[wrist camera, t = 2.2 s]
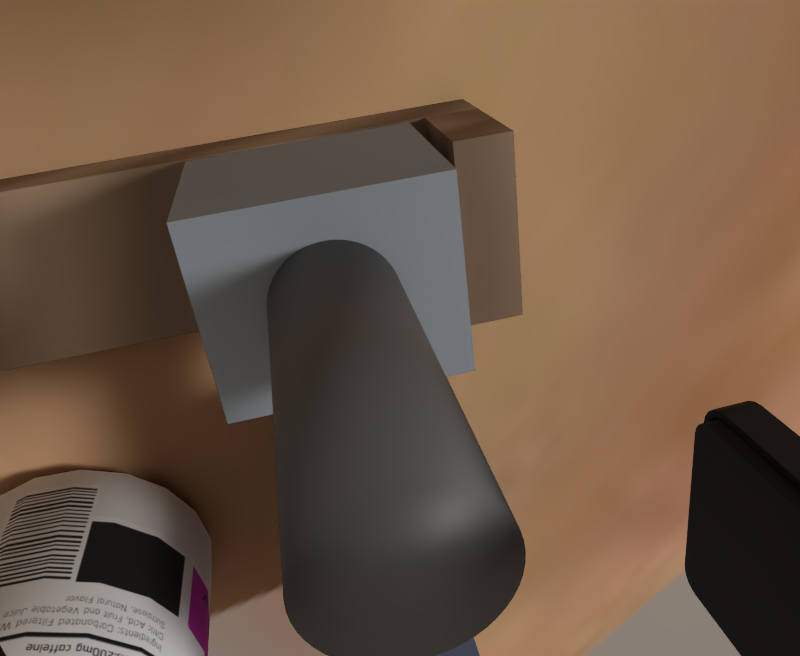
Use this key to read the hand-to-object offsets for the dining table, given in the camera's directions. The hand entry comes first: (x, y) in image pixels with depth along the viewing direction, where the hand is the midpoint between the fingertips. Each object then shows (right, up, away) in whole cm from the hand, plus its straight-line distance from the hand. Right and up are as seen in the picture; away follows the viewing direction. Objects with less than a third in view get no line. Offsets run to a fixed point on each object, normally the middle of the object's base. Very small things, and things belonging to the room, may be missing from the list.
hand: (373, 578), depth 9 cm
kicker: (-1, 0, +15) cm, 15 cm away
